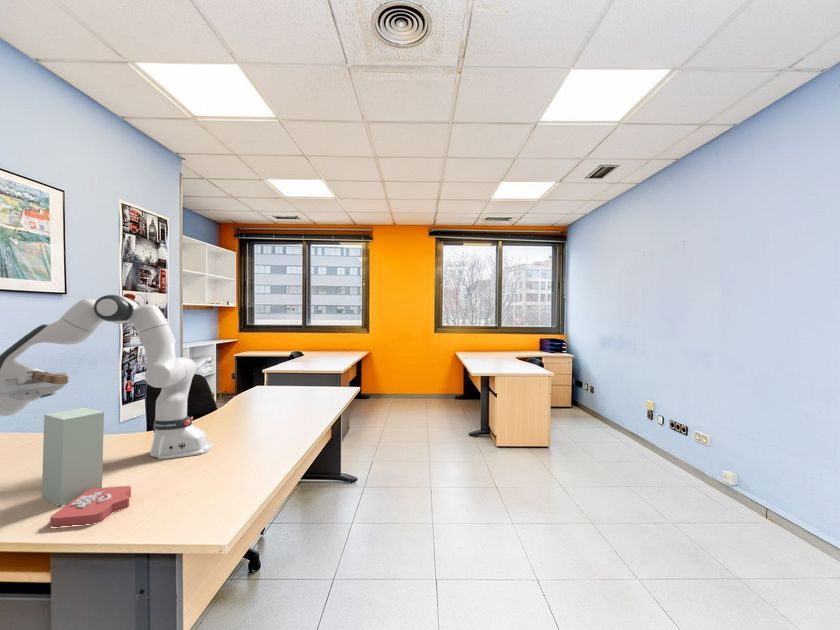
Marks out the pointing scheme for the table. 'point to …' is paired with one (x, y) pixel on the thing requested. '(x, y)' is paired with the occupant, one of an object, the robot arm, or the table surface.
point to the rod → (49, 377)
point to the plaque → (92, 506)
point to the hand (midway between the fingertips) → (38, 374)
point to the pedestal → (72, 454)
